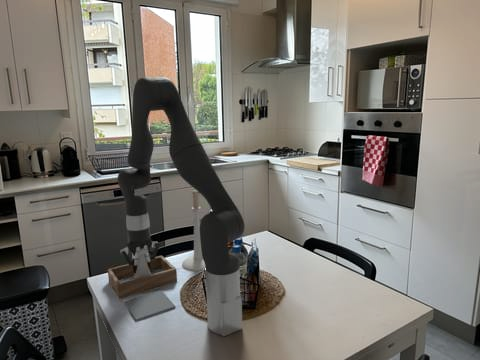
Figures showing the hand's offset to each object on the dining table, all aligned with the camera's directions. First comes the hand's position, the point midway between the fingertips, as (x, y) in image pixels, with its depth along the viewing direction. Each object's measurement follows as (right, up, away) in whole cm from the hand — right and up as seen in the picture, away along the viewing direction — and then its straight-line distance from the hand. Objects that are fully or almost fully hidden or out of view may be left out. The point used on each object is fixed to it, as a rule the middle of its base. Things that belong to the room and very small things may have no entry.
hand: (142, 272), depth 122 cm
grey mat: (+6, -6, -14) cm, 17 cm away
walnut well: (0, -4, +1) cm, 4 cm away
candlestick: (+18, -1, +15) cm, 23 cm away
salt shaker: (0, -4, +1) cm, 4 cm away
